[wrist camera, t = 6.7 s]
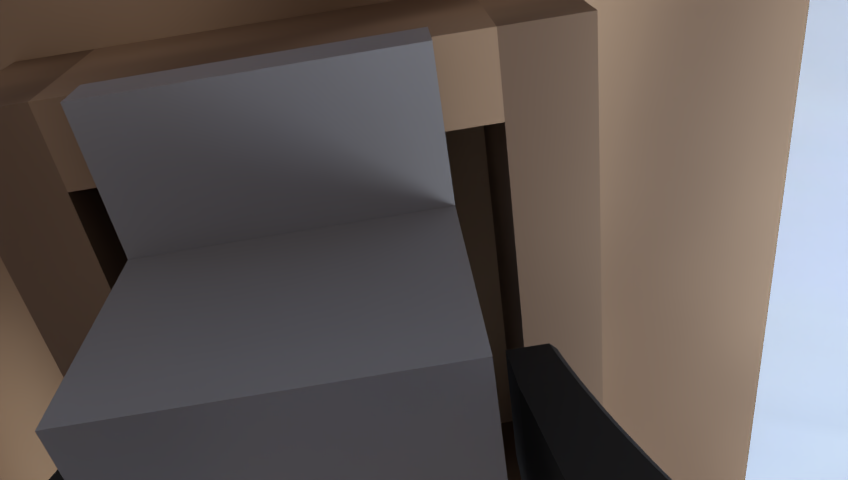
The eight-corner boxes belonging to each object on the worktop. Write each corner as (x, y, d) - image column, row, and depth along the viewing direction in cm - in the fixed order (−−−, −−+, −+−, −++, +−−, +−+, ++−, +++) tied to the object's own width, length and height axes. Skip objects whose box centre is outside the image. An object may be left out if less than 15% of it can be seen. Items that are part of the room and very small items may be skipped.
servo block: (412, -17, 10) (482, 192, 4) (482, 458, 15) (557, 850, 9) (141, 28, 10) (-156, 296, 4) (301, 488, 15) (264, 897, 9)
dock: (809, -310, 10) (1004, -374, 7) (721, 480, 18) (793, 608, 15) (-334, -125, 10) (-635, -108, 7) (97, 579, 18) (44, 727, 15)
